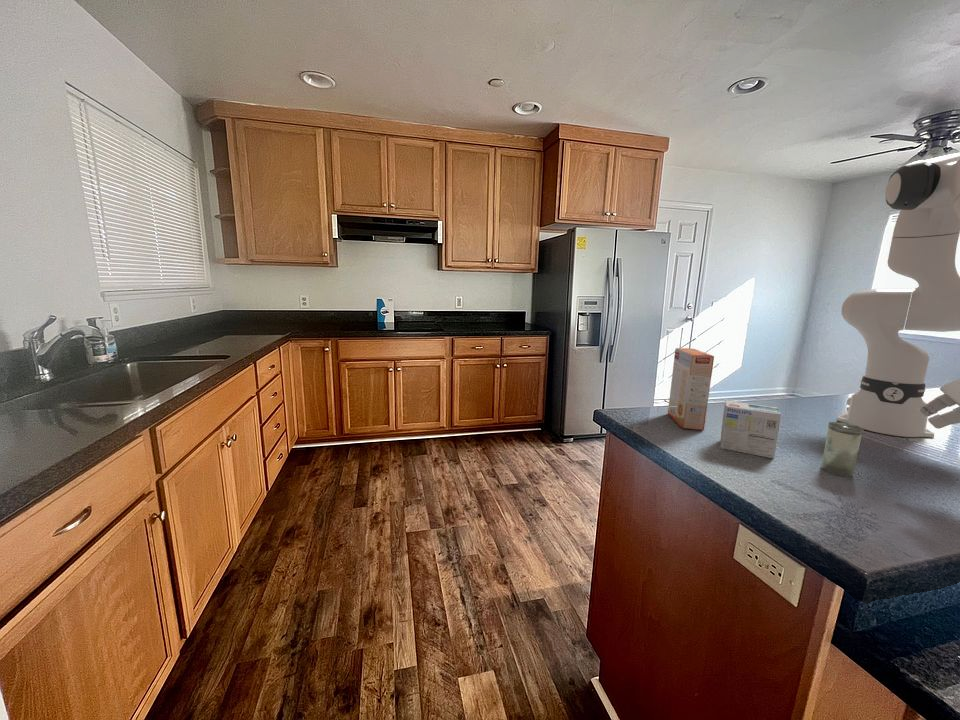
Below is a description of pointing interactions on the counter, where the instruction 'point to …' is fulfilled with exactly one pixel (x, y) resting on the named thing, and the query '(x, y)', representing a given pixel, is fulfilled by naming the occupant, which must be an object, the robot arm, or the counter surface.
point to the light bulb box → (750, 428)
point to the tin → (841, 448)
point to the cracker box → (690, 387)
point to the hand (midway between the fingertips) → (926, 418)
